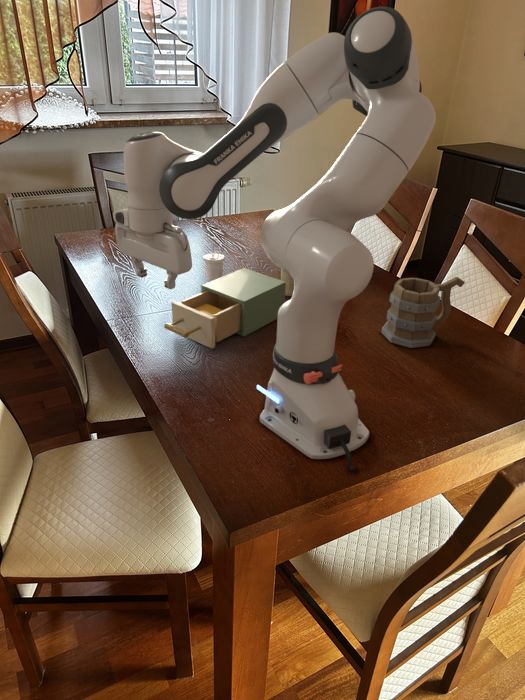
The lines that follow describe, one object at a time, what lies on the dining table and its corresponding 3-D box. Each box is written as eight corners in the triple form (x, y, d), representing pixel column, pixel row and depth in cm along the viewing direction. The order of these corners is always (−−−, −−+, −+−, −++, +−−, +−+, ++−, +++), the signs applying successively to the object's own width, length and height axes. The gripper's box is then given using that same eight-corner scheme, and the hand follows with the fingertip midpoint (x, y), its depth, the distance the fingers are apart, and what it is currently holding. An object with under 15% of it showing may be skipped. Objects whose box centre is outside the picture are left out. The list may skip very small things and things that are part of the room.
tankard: (397, 350, 129) (407, 294, 121) (374, 326, 140) (382, 274, 132) (468, 341, 134) (482, 287, 126) (440, 319, 144) (452, 268, 137)
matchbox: (231, 328, 132) (231, 313, 130) (215, 335, 129) (215, 320, 126) (207, 317, 137) (206, 303, 135) (191, 324, 133) (191, 309, 131)
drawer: (195, 357, 122) (194, 327, 118) (156, 338, 129) (153, 309, 125) (254, 326, 136) (254, 298, 132) (215, 310, 143) (215, 283, 139)
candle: (297, 297, 155) (299, 265, 150) (278, 295, 156) (280, 263, 151) (299, 289, 159) (301, 258, 154) (281, 287, 160) (283, 256, 155)
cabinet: (243, 336, 133) (244, 301, 128) (202, 318, 141) (201, 285, 136) (284, 315, 144) (285, 281, 139) (243, 299, 152) (243, 267, 147)
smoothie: (199, 288, 158) (198, 243, 151) (211, 281, 163) (210, 237, 156) (217, 292, 156) (217, 247, 149) (229, 285, 161) (228, 241, 154)
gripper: (198, 226, 103) (200, 291, 110) (132, 206, 114) (137, 266, 121) (173, 233, 99) (177, 300, 105) (107, 211, 110) (115, 273, 117)
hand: (155, 281), depth 113 cm, fingers open, 8 cm apart
